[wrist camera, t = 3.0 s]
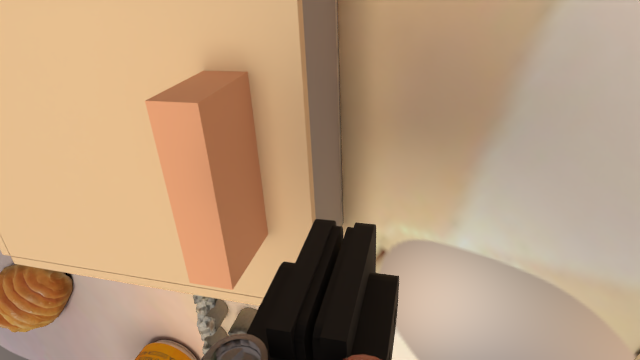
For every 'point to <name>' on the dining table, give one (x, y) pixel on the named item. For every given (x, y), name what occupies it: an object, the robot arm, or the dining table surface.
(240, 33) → the lid
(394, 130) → the dining table surface
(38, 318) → the pastry
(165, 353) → the beer can
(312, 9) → the box
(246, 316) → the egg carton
